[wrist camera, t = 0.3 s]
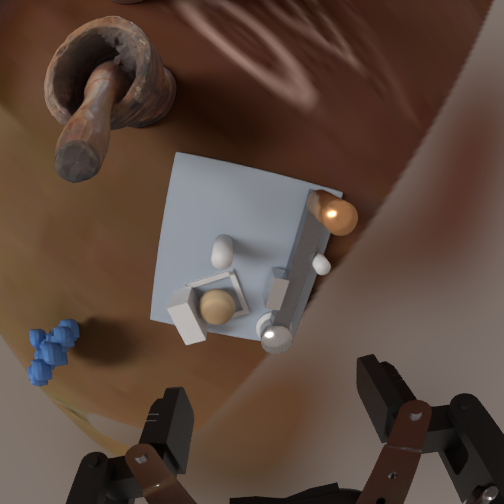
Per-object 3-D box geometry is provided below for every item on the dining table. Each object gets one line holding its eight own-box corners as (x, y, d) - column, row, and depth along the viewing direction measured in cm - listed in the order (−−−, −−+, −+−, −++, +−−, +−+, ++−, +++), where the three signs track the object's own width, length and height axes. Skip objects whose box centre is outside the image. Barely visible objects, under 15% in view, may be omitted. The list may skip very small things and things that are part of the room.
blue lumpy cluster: (65, 282, 34) (17, 331, 23) (101, 316, 36) (65, 374, 25) (37, 328, 36) (-2, 376, 25) (69, 357, 38) (37, 410, 27)
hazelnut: (203, 279, 34) (200, 296, 30) (238, 286, 34) (239, 303, 31) (197, 309, 35) (194, 327, 31) (231, 315, 36) (231, 334, 32)
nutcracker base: (178, 151, 30) (166, 153, 24) (339, 191, 32) (360, 201, 27) (152, 314, 36) (140, 342, 31) (289, 339, 39) (297, 369, 33)
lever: (284, 342, 37) (295, 387, 29) (249, 337, 36) (254, 383, 28) (334, 191, 30) (366, 207, 23) (295, 180, 30) (316, 193, 22)
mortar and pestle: (218, 115, 29) (194, 68, 10) (157, 170, 30) (58, 211, 12) (150, 45, 25) (65, -44, 7) (94, 100, 27) (-34, 76, 8)
